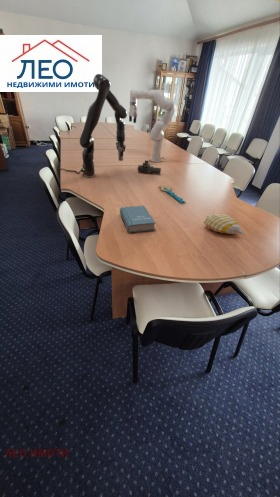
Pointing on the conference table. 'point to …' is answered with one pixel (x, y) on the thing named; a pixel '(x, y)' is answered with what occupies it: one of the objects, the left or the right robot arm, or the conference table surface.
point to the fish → (223, 224)
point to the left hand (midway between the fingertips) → (120, 155)
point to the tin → (120, 156)
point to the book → (137, 219)
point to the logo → (171, 193)
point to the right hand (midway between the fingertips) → (132, 122)
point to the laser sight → (148, 168)
